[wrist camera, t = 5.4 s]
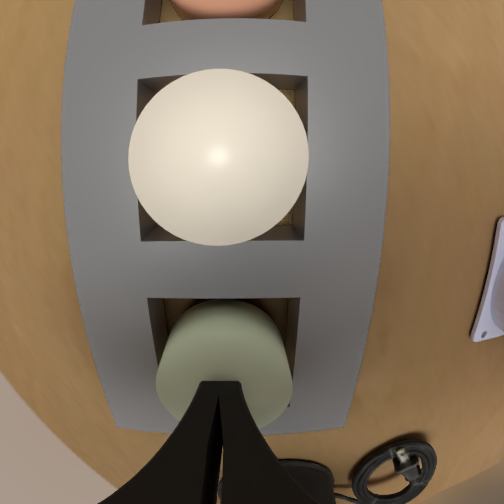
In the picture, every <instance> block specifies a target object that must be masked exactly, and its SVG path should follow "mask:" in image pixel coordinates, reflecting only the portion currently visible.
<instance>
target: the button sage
mask: <svg viewBox="0 0 504 504" xmlns="http://www.w3.org/2000/svg"><path fill="white" fill-rule="evenodd" d="M201 381H239V382H240V383H241V386H242V391H243V394H244V398H245V401H246V403H247V406H248V408H249V411H250V413H251V415H252V417H253V419H254V421H255V423H256V425H257V427H258V429H260V428H262V427H264V426H266V425H268V424H270V423H271V422H273V421H274V420H275V419H277V418H278V417H279V416H280V415H281V414H282V413H283V412H284V410H285V409H286V408H287V406H288V404H289V402H290V400H291V397H292V392H293V383H292V377H291V373H290V369H289V364H288V360H287V356H286V352H285V348H284V343H283V339H282V336H281V333H280V330H279V328H278V326H277V325H276V323H275V322H274V321H273V319H272V318H271V317H270V316H269V315H268V314H266V313H265V312H264V311H262V310H261V309H259V308H257V307H256V306H254V305H251V304H249V303H246V302H243V301H239V300H233V299H215V300H209V301H205V302H202V303H199V304H197V305H195V306H193V307H191V308H189V309H188V310H186V311H185V312H184V313H183V314H181V316H180V317H179V318H178V319H177V320H176V322H175V323H174V325H173V327H172V329H171V331H170V334H169V337H168V340H167V343H166V346H165V349H164V352H163V355H162V358H161V361H160V365H159V368H158V371H157V375H156V391H157V394H158V397H159V399H160V401H161V403H162V404H163V406H164V407H165V409H166V410H167V411H168V412H169V413H170V414H171V415H172V416H173V417H174V418H176V419H177V420H178V421H180V420H181V419H182V417H183V415H184V414H185V412H186V410H187V409H188V407H189V405H190V403H191V401H192V399H193V397H194V395H195V393H196V391H197V388H198V386H199V383H200V382H201Z"/></svg>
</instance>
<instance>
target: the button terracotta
mask: <svg viewBox="0 0 504 504" xmlns="http://www.w3.org/2000/svg"><path fill="white" fill-rule="evenodd" d="M170 1H171V3H172V5H173V7H174V9H175V11H176V12H177V13H178V15H179V16H180V17H181V18H182V19H183V20H197V19H219V18H255V19H269V18H270V17H271V16H272V15H273V14H274V13H275V12H276V11H277V10H278V8H279V7H280V5H281V3H282V1H283V0H170Z"/></svg>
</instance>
